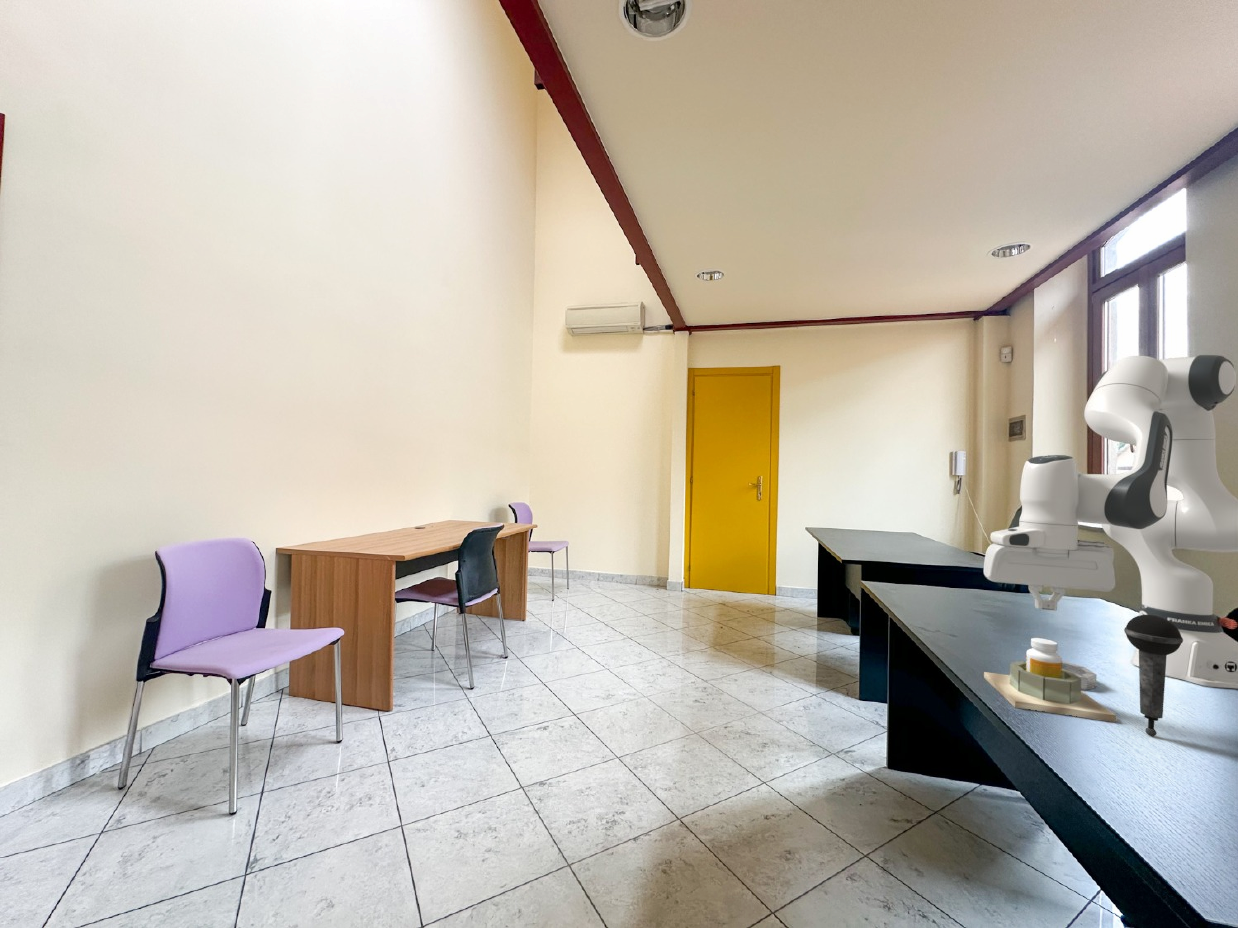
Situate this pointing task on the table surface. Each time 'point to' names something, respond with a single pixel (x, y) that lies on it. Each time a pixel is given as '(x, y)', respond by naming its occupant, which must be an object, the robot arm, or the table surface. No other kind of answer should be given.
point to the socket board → (1047, 693)
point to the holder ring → (1082, 675)
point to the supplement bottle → (1044, 658)
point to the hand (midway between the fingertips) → (1045, 609)
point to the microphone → (1152, 661)
